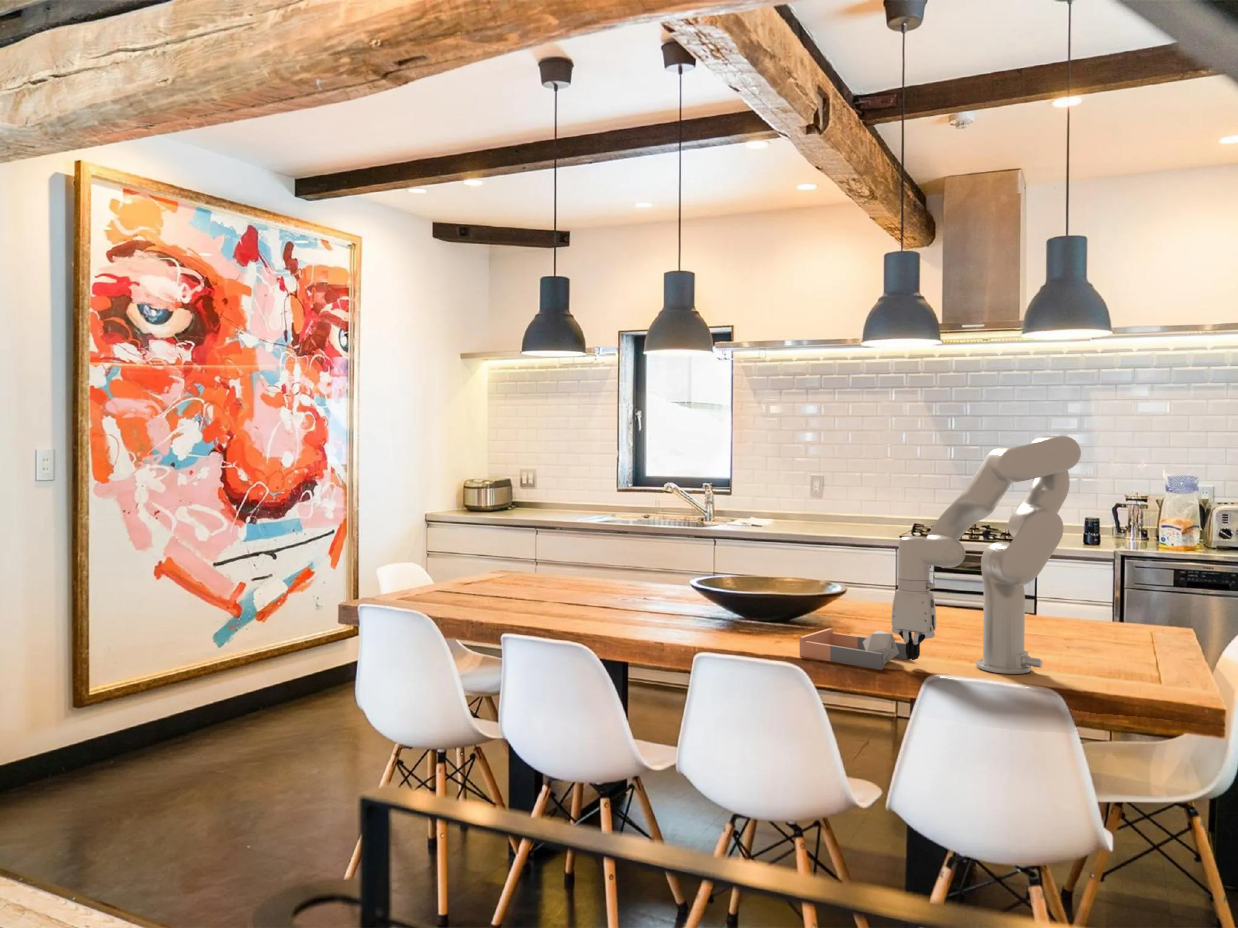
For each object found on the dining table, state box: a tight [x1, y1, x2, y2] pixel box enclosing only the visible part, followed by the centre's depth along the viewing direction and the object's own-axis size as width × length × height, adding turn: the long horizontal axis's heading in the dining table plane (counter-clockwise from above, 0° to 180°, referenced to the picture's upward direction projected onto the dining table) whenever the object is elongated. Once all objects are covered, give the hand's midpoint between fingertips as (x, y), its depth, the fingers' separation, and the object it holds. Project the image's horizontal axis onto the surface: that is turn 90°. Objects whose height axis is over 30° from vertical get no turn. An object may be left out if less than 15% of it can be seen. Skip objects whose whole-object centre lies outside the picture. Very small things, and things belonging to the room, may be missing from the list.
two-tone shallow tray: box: [799, 627, 909, 671], centre depth 239 cm, size 23×16×5 cm
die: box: [863, 630, 899, 666], centre depth 234 cm, size 8×9×10 cm
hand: (912, 658), depth 228 cm, fingers closed
